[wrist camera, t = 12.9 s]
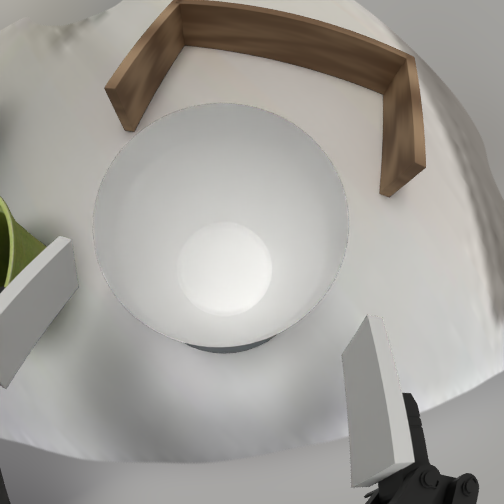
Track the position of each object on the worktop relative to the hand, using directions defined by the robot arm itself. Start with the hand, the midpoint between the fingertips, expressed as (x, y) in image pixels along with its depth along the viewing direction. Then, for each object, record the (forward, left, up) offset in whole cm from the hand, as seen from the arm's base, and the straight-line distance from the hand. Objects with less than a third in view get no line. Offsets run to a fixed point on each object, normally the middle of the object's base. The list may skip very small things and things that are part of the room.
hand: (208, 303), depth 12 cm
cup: (-2, +2, -9) cm, 9 cm away
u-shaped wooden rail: (-10, +16, -9) cm, 21 cm away
